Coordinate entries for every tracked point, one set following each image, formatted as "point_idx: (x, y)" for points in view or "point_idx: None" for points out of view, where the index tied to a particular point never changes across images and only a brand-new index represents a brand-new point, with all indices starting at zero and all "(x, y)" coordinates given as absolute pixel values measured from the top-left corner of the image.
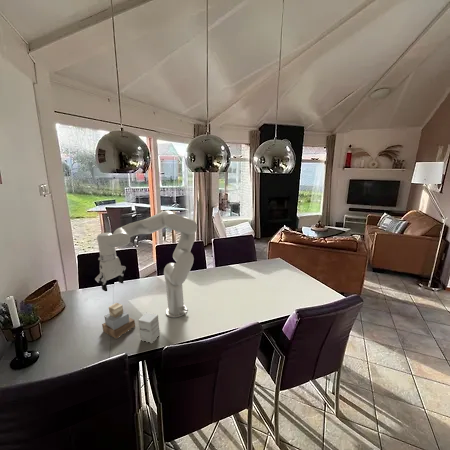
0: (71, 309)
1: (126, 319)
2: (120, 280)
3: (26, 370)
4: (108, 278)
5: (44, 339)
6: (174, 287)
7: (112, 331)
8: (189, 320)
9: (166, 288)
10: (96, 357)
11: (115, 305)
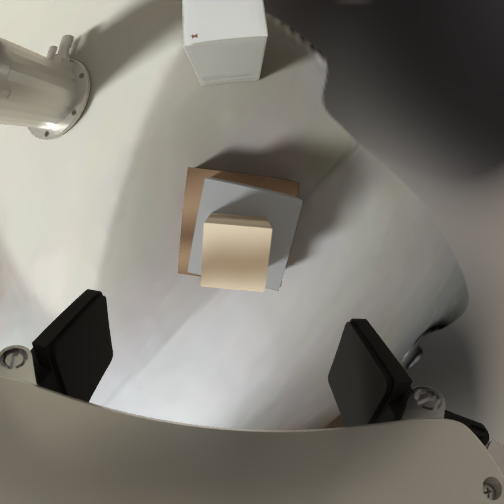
0: None
1: (223, 180)
2: (92, 344)
3: (453, 313)
4: (442, 442)
5: None
6: None
7: None
8: (90, 23)
9: None
10: (388, 174)
11: (230, 263)
